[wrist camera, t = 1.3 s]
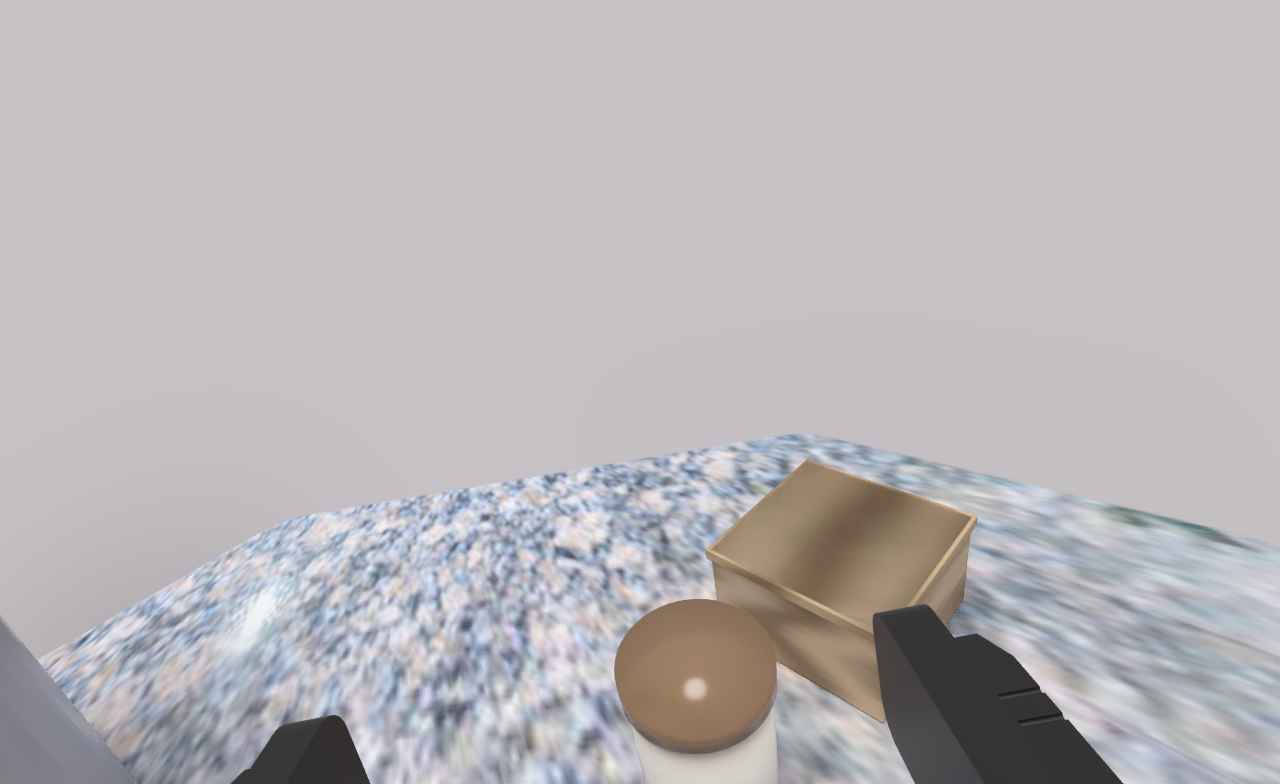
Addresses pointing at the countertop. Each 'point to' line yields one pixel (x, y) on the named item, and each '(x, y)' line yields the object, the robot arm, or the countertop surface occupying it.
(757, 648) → the cream jar
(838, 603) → the oak box
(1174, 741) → the countertop surface
